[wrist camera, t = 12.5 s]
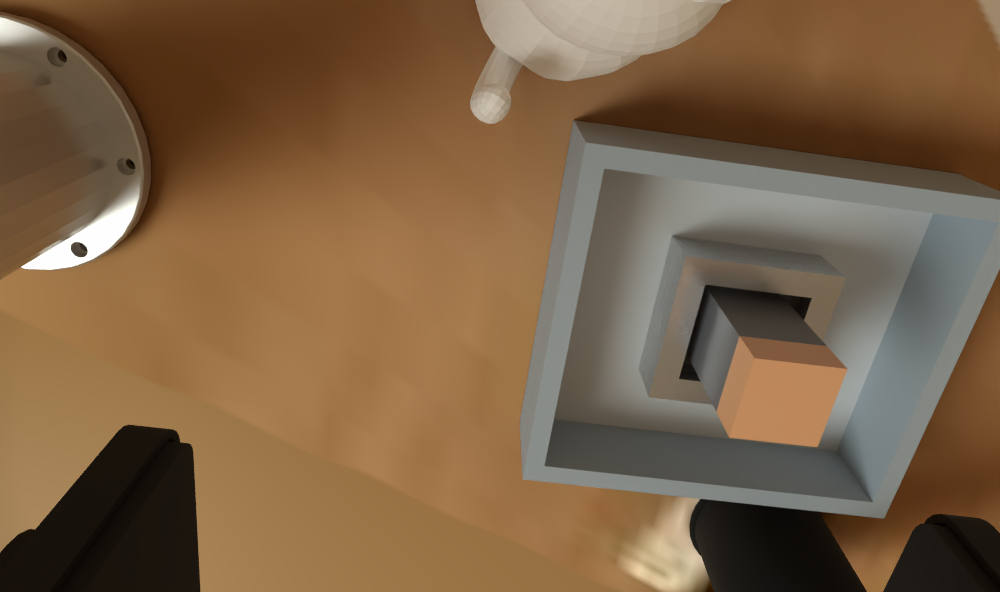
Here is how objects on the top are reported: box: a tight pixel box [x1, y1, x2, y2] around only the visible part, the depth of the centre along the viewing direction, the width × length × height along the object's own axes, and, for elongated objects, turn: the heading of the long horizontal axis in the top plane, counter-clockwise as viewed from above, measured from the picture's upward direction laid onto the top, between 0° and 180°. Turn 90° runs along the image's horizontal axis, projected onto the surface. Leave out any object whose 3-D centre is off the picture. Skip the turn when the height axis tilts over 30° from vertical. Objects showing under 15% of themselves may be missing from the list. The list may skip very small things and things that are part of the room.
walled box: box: [520, 120, 1000, 519], centre depth 37 cm, size 20×18×5 cm
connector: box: [686, 284, 847, 447], centre depth 34 cm, size 4×4×9 cm
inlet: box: [638, 236, 846, 405], centre depth 37 cm, size 8×8×3 cm
